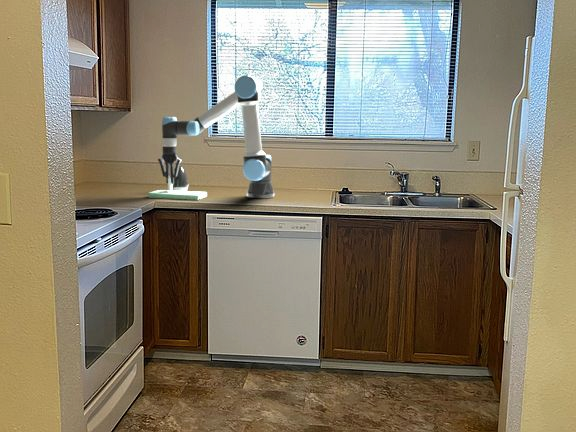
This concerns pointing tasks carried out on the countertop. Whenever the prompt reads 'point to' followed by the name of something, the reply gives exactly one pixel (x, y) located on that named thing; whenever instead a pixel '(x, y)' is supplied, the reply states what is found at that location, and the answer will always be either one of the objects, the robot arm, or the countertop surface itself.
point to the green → (177, 194)
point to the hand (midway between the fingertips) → (170, 189)
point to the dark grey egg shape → (180, 180)
